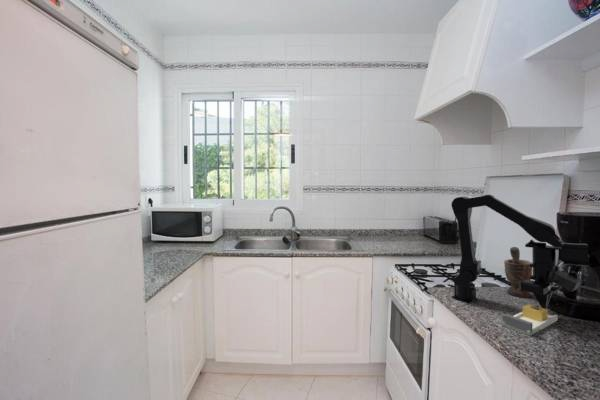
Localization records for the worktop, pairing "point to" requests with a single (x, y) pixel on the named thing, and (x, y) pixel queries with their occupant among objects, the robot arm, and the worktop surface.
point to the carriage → (535, 312)
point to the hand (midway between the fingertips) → (544, 308)
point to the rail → (526, 323)
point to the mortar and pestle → (517, 273)
